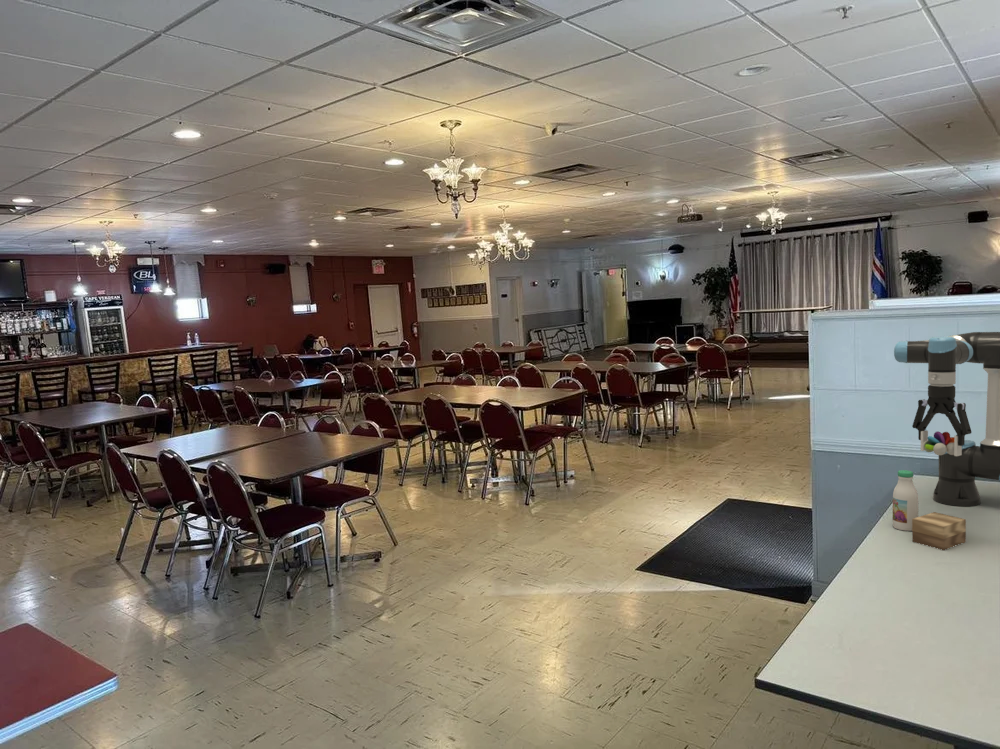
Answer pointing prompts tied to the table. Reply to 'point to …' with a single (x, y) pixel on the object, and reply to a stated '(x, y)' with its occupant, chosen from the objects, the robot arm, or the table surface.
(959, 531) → the tower top
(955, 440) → the robot arm
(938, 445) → the multicoloured petal toy
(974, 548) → the table surface
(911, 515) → the milk bottle
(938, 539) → the tower base
